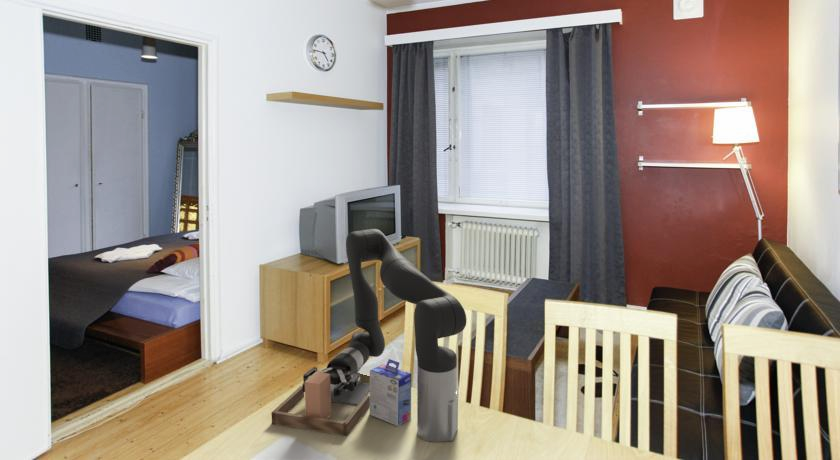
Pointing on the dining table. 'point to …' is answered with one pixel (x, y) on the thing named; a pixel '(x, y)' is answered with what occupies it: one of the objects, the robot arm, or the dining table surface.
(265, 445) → the dining table surface
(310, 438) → the dining table surface
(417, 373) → the robot arm
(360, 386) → the charcoal mat
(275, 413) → the walnut open frame
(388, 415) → the ink cartridge box
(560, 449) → the dining table surface
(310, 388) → the tall peach block
